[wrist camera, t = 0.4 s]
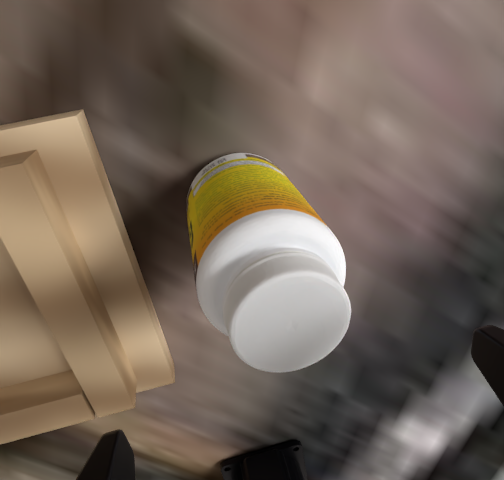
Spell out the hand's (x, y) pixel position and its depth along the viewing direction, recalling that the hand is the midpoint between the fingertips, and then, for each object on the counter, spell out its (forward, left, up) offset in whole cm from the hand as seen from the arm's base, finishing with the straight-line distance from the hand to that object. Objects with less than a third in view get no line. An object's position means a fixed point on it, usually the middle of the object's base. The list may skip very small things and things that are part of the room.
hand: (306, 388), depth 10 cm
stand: (-2, +14, -13) cm, 19 cm away
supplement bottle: (0, 0, -13) cm, 13 cm away
